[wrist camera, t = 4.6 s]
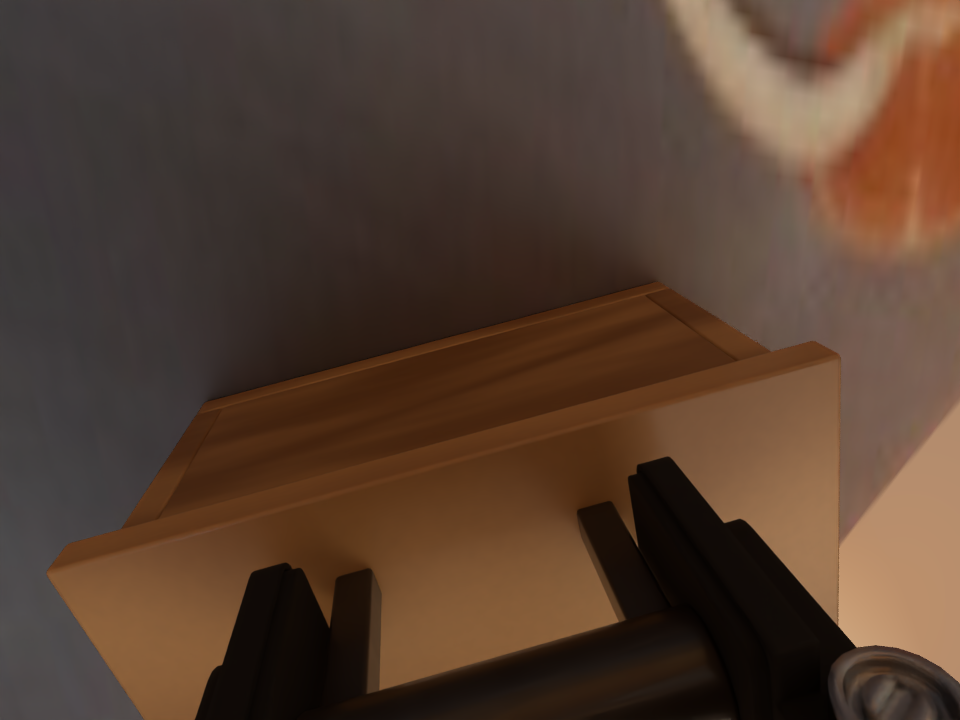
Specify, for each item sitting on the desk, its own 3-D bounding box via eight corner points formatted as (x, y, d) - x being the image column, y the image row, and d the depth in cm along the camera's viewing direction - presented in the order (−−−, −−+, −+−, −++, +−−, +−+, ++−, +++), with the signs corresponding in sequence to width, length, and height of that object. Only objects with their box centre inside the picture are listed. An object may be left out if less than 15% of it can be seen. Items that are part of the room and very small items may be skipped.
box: (203, 401, 18) (88, 573, 11) (659, 279, 18) (812, 374, 12) (351, 716, 23) (334, 958, 17) (698, 617, 24) (817, 812, 17)
